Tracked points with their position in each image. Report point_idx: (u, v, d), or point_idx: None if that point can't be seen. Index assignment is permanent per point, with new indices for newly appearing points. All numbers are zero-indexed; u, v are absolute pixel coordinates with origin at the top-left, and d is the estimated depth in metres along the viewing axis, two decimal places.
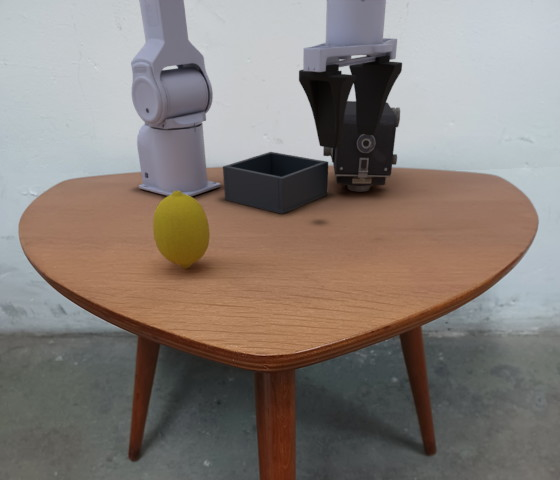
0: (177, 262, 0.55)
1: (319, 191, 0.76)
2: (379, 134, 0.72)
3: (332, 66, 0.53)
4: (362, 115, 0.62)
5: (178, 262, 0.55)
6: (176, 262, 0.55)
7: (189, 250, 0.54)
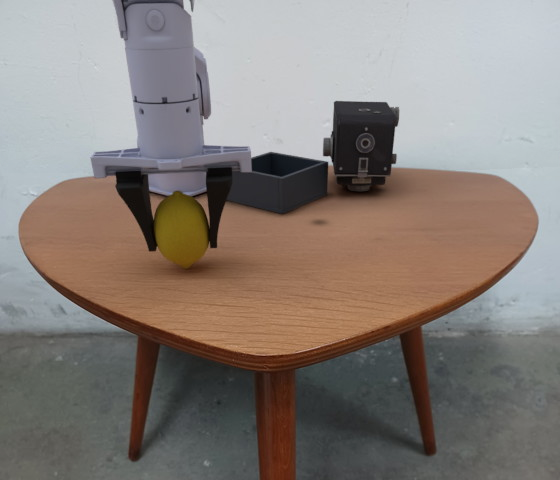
0: (177, 262, 0.55)
1: (319, 191, 0.76)
2: (378, 134, 0.72)
3: (118, 174, 0.51)
4: None
5: (178, 262, 0.55)
6: (176, 262, 0.55)
7: (190, 250, 0.54)
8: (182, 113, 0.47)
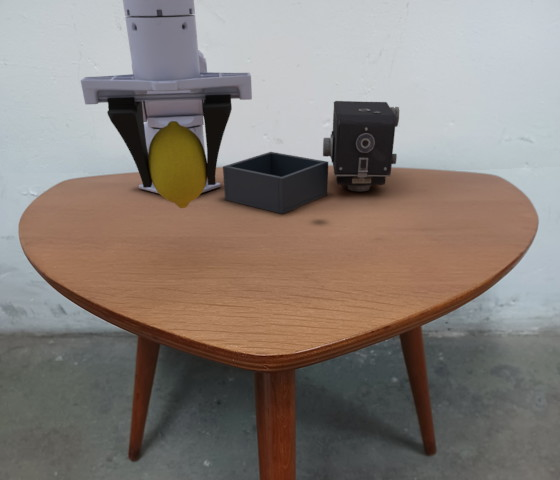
0: (173, 199, 0.52)
1: (319, 191, 0.76)
2: (378, 134, 0.72)
3: (110, 99, 0.48)
4: None
5: (174, 199, 0.52)
6: (172, 199, 0.52)
7: (186, 185, 0.51)
8: (178, 29, 0.44)
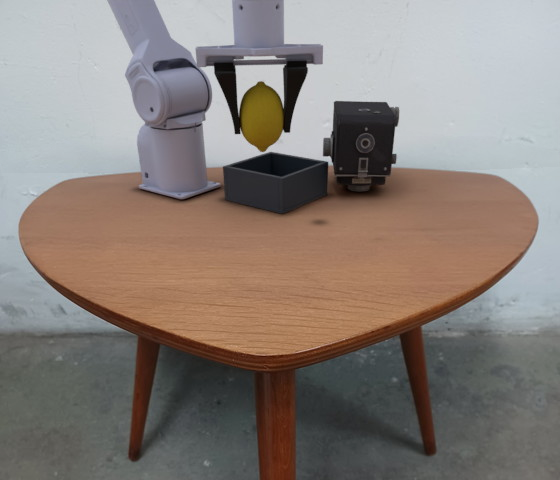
0: (258, 143, 0.68)
1: (319, 191, 0.76)
2: (378, 134, 0.72)
3: (216, 63, 0.63)
4: None
5: (258, 143, 0.67)
6: (257, 143, 0.68)
7: (269, 131, 0.66)
8: (273, 9, 0.59)
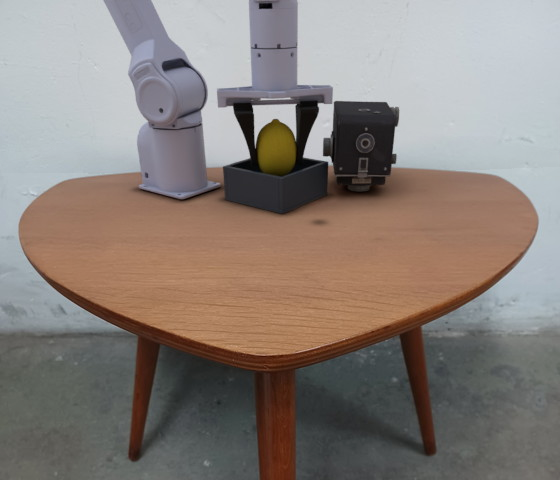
0: (273, 174, 0.74)
1: (319, 191, 0.76)
2: (378, 134, 0.72)
3: (235, 104, 0.69)
4: None
5: (273, 174, 0.74)
6: (272, 174, 0.74)
7: (284, 164, 0.72)
8: (288, 56, 0.66)
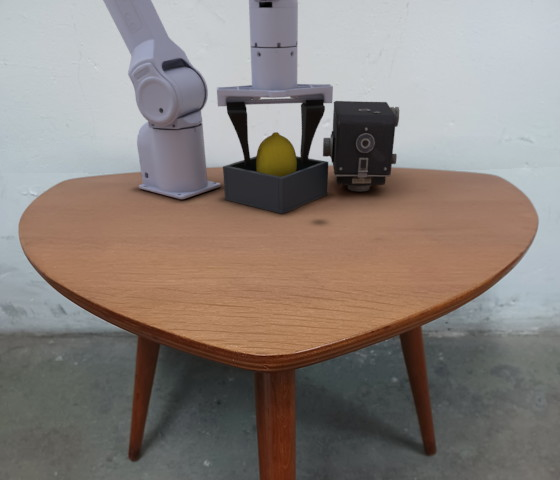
0: None
1: (319, 191, 0.76)
2: (378, 134, 0.72)
3: (235, 103, 0.69)
4: (301, 145, 0.74)
5: None
6: None
7: None
8: (288, 55, 0.65)
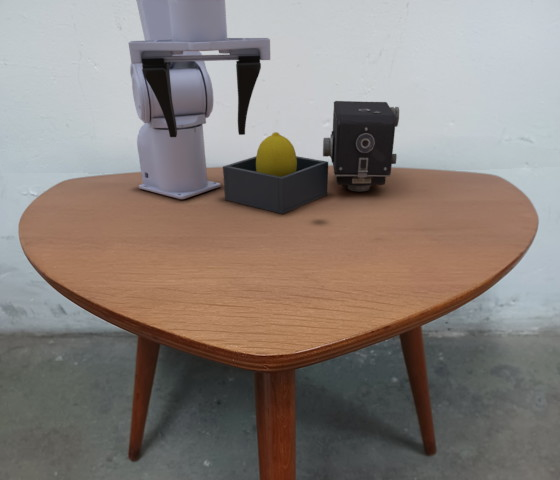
0: None
1: (319, 191, 0.76)
2: (378, 134, 0.72)
3: (152, 59, 0.57)
4: None
5: None
6: None
7: None
8: None
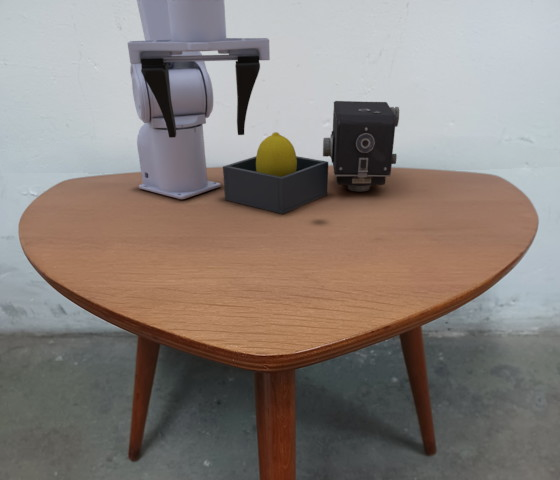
0: None
1: (319, 191, 0.76)
2: (378, 134, 0.72)
3: (151, 59, 0.57)
4: (237, 113, 0.62)
5: None
6: None
7: None
8: None
